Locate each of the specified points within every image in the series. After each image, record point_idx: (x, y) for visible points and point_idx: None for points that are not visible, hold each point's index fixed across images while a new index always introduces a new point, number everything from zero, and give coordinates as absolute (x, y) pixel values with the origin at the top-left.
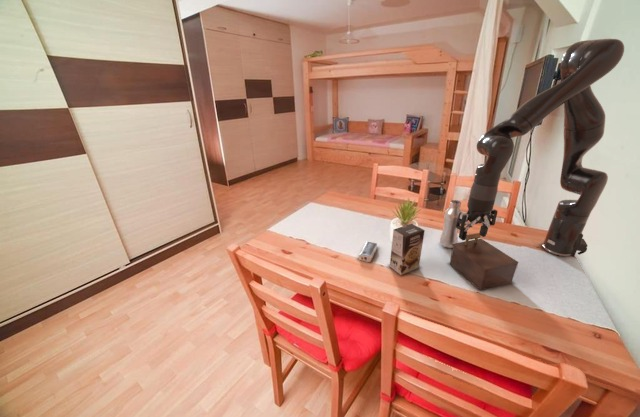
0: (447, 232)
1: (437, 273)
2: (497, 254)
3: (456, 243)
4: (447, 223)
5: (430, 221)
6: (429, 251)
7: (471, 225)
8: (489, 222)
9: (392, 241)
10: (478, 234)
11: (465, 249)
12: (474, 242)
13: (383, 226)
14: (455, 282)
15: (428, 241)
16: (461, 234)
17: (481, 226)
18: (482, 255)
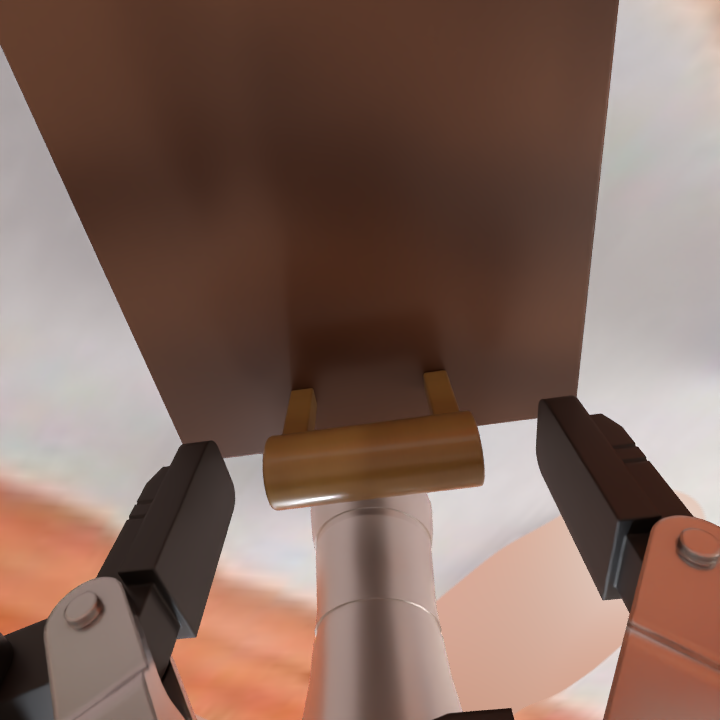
0: (424, 576)
1: (682, 189)
2: (160, 103)
3: (522, 414)
4: (450, 678)
5: None
6: (533, 439)
7: (702, 687)
8: (24, 711)
9: None
10: (288, 478)
11: (518, 291)
12: (315, 403)
13: (617, 656)
14: (637, 34)
15: (463, 526)
16: (652, 482)
17: (196, 618)
18: (400, 113)
